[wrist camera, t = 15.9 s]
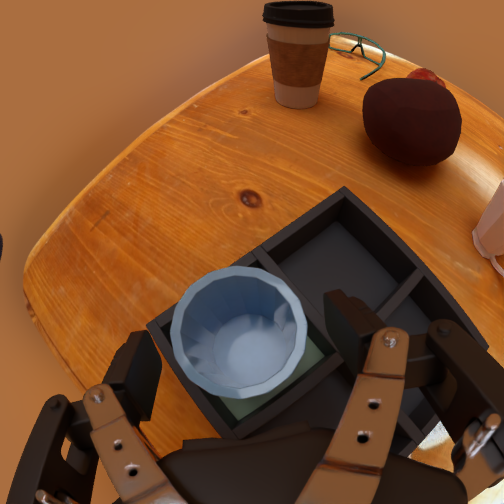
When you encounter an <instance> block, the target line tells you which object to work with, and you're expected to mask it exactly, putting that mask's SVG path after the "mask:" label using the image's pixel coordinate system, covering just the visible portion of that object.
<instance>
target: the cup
mask: <svg viewBox="0 0 504 504" xmlns="http://www.w3.org/2000/svg"><path fill="white" fill-rule="evenodd" d="M472 236H473V242H474V246H475V247H476V249H477V250H478V251H479V253H480V254H481V256H482V257H484V258H487V259H490V261H491V263H492V265H493V267H494V268H495V269H496V270H497V271H498V272H499V273H500V274H501V275H502V276H503V277H504V269H502V268H501V266H500V265H499V264H498V263H497V261H496V259H495V255H497V256H499V255H502V254H504V178H503V180H502V181H501V183H500V185H499V187H498V189H497V190H496V192H495V194H494V196H493V198H492V199H491V201H490V203H489V204H488V206H487V208H486V209H485V211H484V212H483V214H482V216H481V218H480V220H479V222H478V224H477V226H476V227H475V229H474V230H473V231H472Z"/></svg>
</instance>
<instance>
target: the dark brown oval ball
mask: <svg viewBox="0 0 504 504" xmlns="http://www.w3.org/2000/svg"><path fill="white" fill-rule="evenodd" d="M362 112H363V121H364V127H365V131H366V133H367V135H368V136H369V138H370V140H371V142H372V143H373V144H374V145H375V146H376V147H377V148H378V149H379V150H380V151H382V152H383V153H384V154H386V155H388V156H390V157H391V158H393V159H395V160H397V161H400V162H403V163H405V164H410V165H416V166H430V165H436V164H437V163H439V162H441V161H443V160H445V159H447V158H448V157H449V156H451V155H452V154H453V153H454V151H455V148H456V146H457V143H458V140H459V137H460V134H461V124H462V118H461V114H460V111H459V107H458V104H457V102H456V99H455V98H454V96H453V95H452V94H451V92H450V91H449V90H447V89H446V88H444V87H443V86H441V85H439V84H437V83H435V82H433V81H431V80H424V79H412V78H392V79H386V80H383V81H381V82H378V83H376V84H374V85H372V86H371V87H369V89H368V91H367V92H366V94H365V96H364V99H363V109H362Z"/></svg>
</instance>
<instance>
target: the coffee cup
mask: <svg viewBox="0 0 504 504" xmlns="http://www.w3.org/2000/svg"><path fill="white" fill-rule="evenodd" d="M262 16H263V17H264V18H263V21H264V22H266V23H267V30H268V33H267V42H268V48H269V55H270V61H271V68H272V75H273V80H274V90H275V98H276V100H277V102H278V103H279V104H281V105H283V106H285V107H289V108H294V109H305V108H310V107H312V106H314V105H315V104H316V103H317V99H318V94H319V89H320V84H321V80H322V76H323V71H324V66H325V62H326V57H327V52H328V47H329V42H330V39H329V33H330V27H333V26H334V18H333V7H332V5H330V4H327V3H323V2H317V1H282V2H271V3H267V4H265V6H264V13H263V15H262Z"/></svg>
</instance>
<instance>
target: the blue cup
mask: <svg viewBox="0 0 504 504" xmlns="http://www.w3.org/2000/svg"><path fill="white" fill-rule="evenodd" d="M307 324H308V323H307V320H306V317H305V314H304V311H303V308H302V305H301V302H300V300H299V298H298V297H297V296H296V295H295V293H294V292H293V291H292V290H291V289H290V288H289V286H288V285H287V284H286V283H285V282H284V281H282V279H280V278H278V277H276V276H274V275H272V274H270V273H268V272H266V271H264V270H262V269H259V268H253V267H243V266H231V267H227V268H223V269H219V270H215V271H212V272H211V273H210V272H209V273H208V274H206V275H205V276H203V277H202V278H201V279H199V280H198V281H196V282H195V283H193V284H192V285H191V286H190V287H189V288H188V289H187V291H186V292H185V294H184V295H183V296H182V298H181V299H180V301H179V302H178V304H177V305H176V308H175V311H174V315H173V320H172V324H171V329H170V336H171V341H172V347H173V352H174V356H175V359H176V361H177V362H178V364H179V365H180V367H181V368H182V370H183V371H184V373H185V374H186V376H187V377H188V379H190V381H192V382H193V383H195V384H196V385H198V386H199V387H201V388H202V389H204V390H206V391H207V392H209V393H210V394H213V395H216V396H221V397H227V398H233V399H246V398H251V397H255V396H259V395H263V394H267V393H268V392H271V391H272V390H273V389H275V388H276V387H278V386H279V385H280V384H282V383H283V382H284V381H286V380H287V379H288V378H289V377H290V376H291V375H292V374H293V372H294V371H295V369H296V367H297V366H298V364H299V362H300V360H301V358H302V357H303V355H304V353H305V352H304V351H305V350H306V340H307V330H308V325H307Z"/></svg>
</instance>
